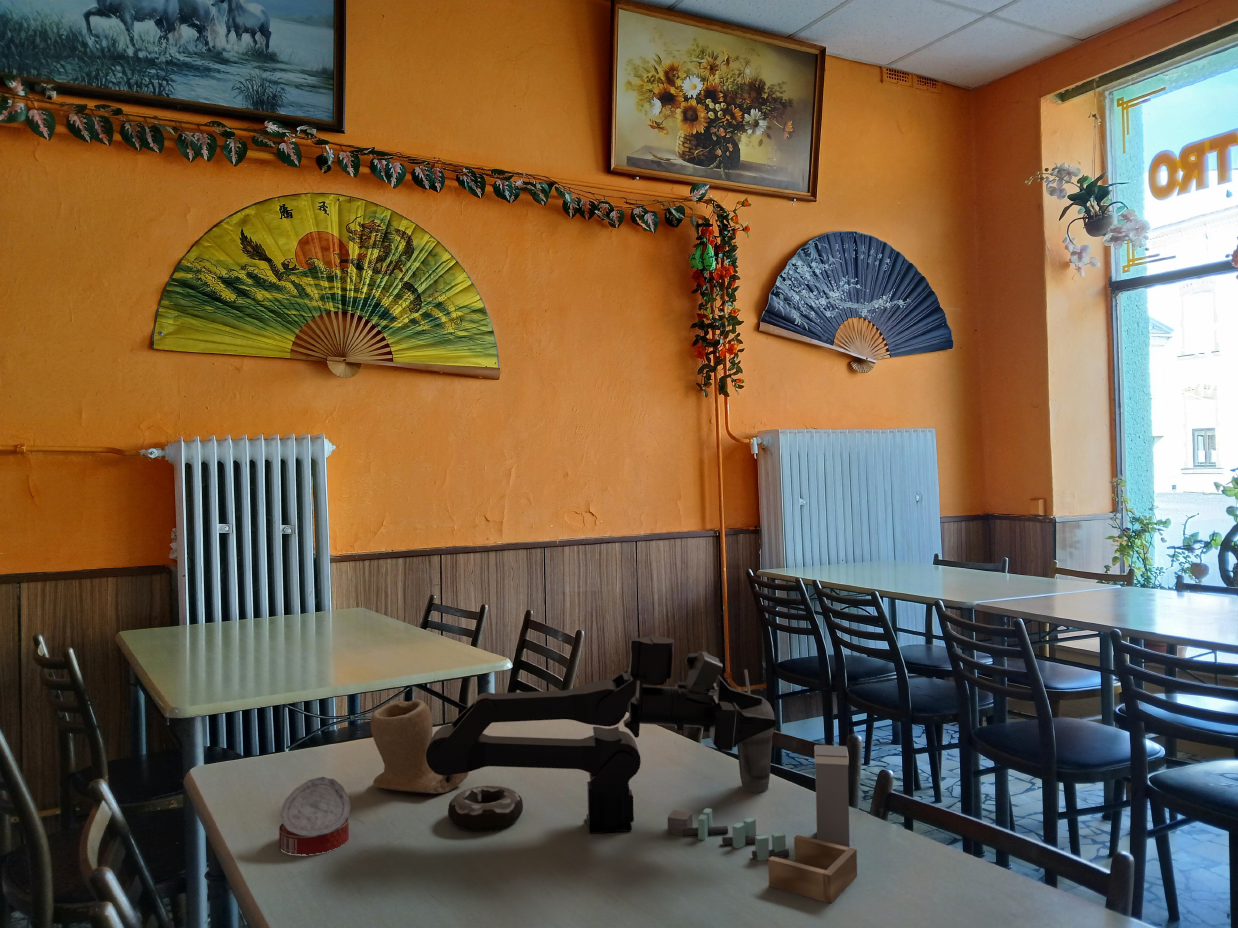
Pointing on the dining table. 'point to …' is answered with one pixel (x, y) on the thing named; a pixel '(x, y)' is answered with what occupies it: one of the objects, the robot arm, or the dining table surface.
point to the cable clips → (741, 832)
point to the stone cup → (408, 749)
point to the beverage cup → (756, 751)
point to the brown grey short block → (679, 822)
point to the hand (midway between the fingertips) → (768, 711)
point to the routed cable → (730, 839)
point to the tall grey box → (832, 794)
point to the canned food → (315, 817)
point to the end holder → (815, 869)
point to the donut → (485, 808)
